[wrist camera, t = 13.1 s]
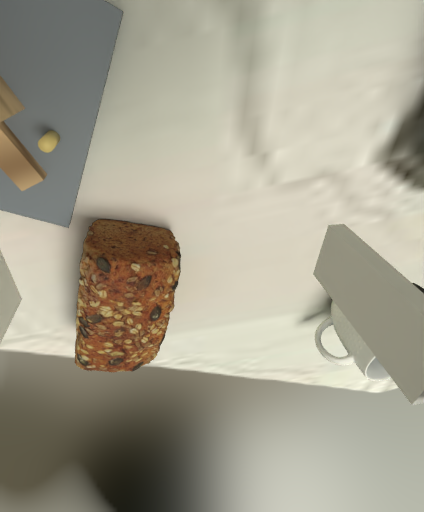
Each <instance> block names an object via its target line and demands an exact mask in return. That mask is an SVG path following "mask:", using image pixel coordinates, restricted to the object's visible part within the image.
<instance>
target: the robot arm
mask: <svg viewBox="0 0 424 512" xmlns="http://www.w3.org/2000/svg"><path fill="white" fill-rule="evenodd" d="M313 274H314V276H315V277H316V278H317V280H318V281H319V282H320V284H321V285H322V286H323V288H324V289H325V290H326V292H327V293H328V294H329V296H330V297H331V298H332V300H333V301H334V302H335V304H336V305H337V306H338V308H339V309H340V310H341V312H342V313H343V314H344V316H345V317H346V318H347V320H348V321H349V322H350V323H351V325H352V326H353V327H354V329H355V330H356V331H357V333H358V334H359V335H360V337H361V338H362V339H363V341H364V342H365V343H366V345H367V346H368V347H369V349H370V350H371V351H372V353H373V354H374V355H375V357H376V358H377V359H378V361H379V362H380V363H381V365H382V366H383V367H384V369H385V370H386V371H387V373H388V374H389V375H390V376H391V378H392V379H393V380H394V382H395V383H396V384H397V386H398V387H399V388H400V389H401V391H402V392H403V394H404V395H405V396H406V398H407V399H408V400H409V402H410V403H411V404H412V405H415V404H419V403H424V288H422V287H420V286H418V285H417V284H415V283H411V282H410V281H409V280H408V279H406V278H405V277H404V276H403V275H402V274H401V273H400V272H398V271H397V270H396V269H395V268H394V267H393V266H392V265H390V264H389V263H388V262H387V261H386V260H385V259H383V258H382V257H381V256H380V255H379V254H378V253H377V252H375V251H374V250H373V249H372V248H371V247H370V246H369V245H367V244H366V243H365V242H364V241H363V240H362V239H361V238H359V237H358V236H357V235H356V234H355V233H354V232H353V231H351V230H350V229H349V228H348V227H347V226H346V225H344V224H339V225H328V229H327V232H326V235H325V238H324V241H323V244H322V248H321V251H320V254H319V257H318V260H317V264H316V267H315V270H314V273H313ZM21 300H22V298H21V296H20V294H19V291H18V289H17V287H16V285H15V282H14V280H13V278H12V275H11V273H10V271H9V269H8V266H7V264H6V262H5V259H4V257H3V255H2V253H1V250H0V343H1V341H2V339H3V337H4V335H5V333H6V331H7V329H8V327H9V325H10V323H11V320H12V318H13V316H14V314H15V312H16V310H17V308H18V306H19V304H20V302H21Z"/></svg>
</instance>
